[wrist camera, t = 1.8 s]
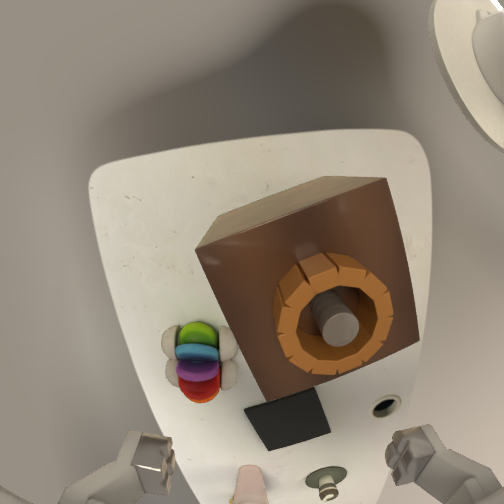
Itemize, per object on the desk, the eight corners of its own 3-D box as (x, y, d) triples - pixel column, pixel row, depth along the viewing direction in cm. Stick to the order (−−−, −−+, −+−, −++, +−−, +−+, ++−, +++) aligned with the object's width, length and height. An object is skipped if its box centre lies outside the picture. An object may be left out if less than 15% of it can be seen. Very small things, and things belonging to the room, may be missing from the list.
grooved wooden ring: (359, 237, 17) (379, 249, 14) (381, 326, 19) (399, 348, 16) (257, 276, 18) (260, 295, 15) (292, 361, 19) (299, 389, 16)
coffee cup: (368, 464, 43) (376, 483, 38) (327, 496, 45) (332, 514, 40) (320, 454, 41) (325, 476, 36) (279, 487, 44) (281, 507, 39)
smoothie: (225, 463, 41) (222, 532, 28) (263, 457, 41) (268, 528, 27) (237, 481, 43) (236, 545, 29) (272, 476, 43) (278, 540, 29)
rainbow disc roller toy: (172, 378, 37) (160, 415, 30) (164, 312, 34) (147, 343, 27) (237, 381, 37) (236, 420, 30) (237, 315, 35) (235, 348, 28)
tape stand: (324, 175, 31) (415, 179, 13) (356, 277, 34) (443, 365, 16) (217, 216, 32) (182, 267, 14) (258, 314, 35) (269, 436, 17)
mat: (314, 386, 37) (315, 389, 37) (330, 429, 40) (331, 432, 39) (244, 408, 38) (244, 411, 38) (268, 448, 40) (268, 451, 40)
